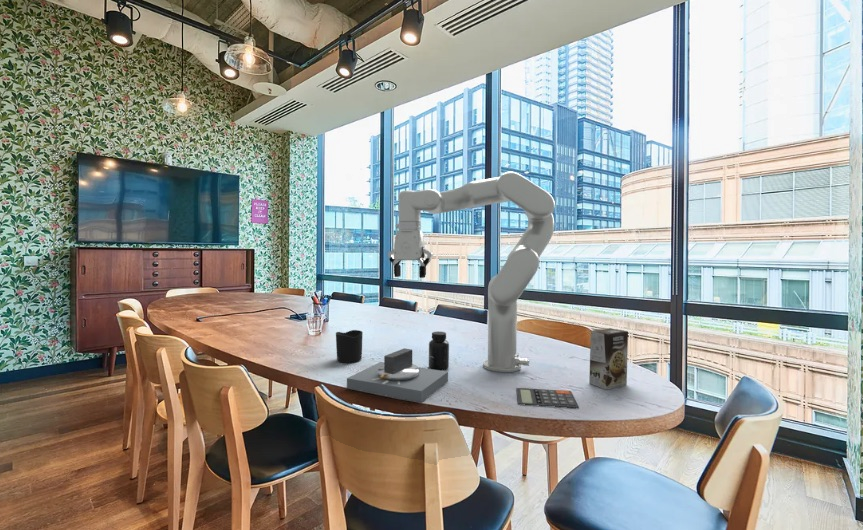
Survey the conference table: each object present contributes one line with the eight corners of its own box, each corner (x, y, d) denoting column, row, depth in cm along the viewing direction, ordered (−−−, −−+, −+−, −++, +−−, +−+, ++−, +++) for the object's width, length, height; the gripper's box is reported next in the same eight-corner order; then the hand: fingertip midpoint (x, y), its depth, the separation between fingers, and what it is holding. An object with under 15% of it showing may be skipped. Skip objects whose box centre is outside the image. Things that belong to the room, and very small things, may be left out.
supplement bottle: (425, 369, 132) (425, 333, 132) (433, 364, 139) (433, 330, 138) (444, 372, 130) (444, 335, 129) (451, 366, 136) (451, 331, 135)
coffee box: (606, 390, 114) (608, 334, 113) (588, 383, 119) (589, 329, 118) (627, 385, 118) (629, 331, 117) (609, 378, 123) (610, 327, 123)
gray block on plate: (394, 365, 126) (394, 345, 126) (426, 371, 120) (426, 350, 119) (364, 378, 113) (364, 356, 113) (398, 386, 107) (398, 362, 107)
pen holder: (341, 356, 149) (341, 329, 148) (366, 357, 148) (365, 330, 147) (331, 363, 140) (331, 335, 139) (357, 364, 138) (357, 335, 138)
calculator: (579, 406, 101) (518, 402, 103) (579, 410, 101) (518, 406, 103) (570, 390, 112) (516, 387, 115) (570, 393, 112) (516, 390, 115)
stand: (448, 381, 121) (448, 370, 121) (421, 402, 105) (421, 390, 104) (380, 370, 131) (380, 361, 131) (346, 388, 115) (346, 377, 115)
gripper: (382, 227, 137) (382, 277, 138) (427, 226, 130) (427, 278, 130) (393, 228, 144) (393, 275, 145) (437, 227, 136) (437, 277, 137)
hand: (409, 277), depth 137 cm, fingers open, 9 cm apart
